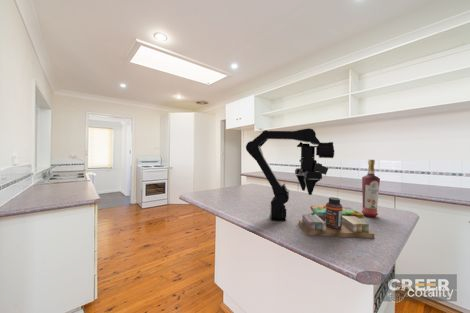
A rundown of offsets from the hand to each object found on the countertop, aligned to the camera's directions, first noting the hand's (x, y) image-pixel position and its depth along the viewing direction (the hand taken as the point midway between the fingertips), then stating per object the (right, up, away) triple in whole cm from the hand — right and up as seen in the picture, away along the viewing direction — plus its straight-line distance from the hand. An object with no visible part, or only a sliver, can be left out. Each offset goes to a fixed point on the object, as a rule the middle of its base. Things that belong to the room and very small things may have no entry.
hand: (306, 192), depth 88 cm
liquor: (+35, -14, +11) cm, 39 cm away
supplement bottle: (+7, -12, -9) cm, 17 cm away
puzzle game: (+16, -14, +7) cm, 22 cm away
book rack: (+7, -13, -9) cm, 18 cm away
